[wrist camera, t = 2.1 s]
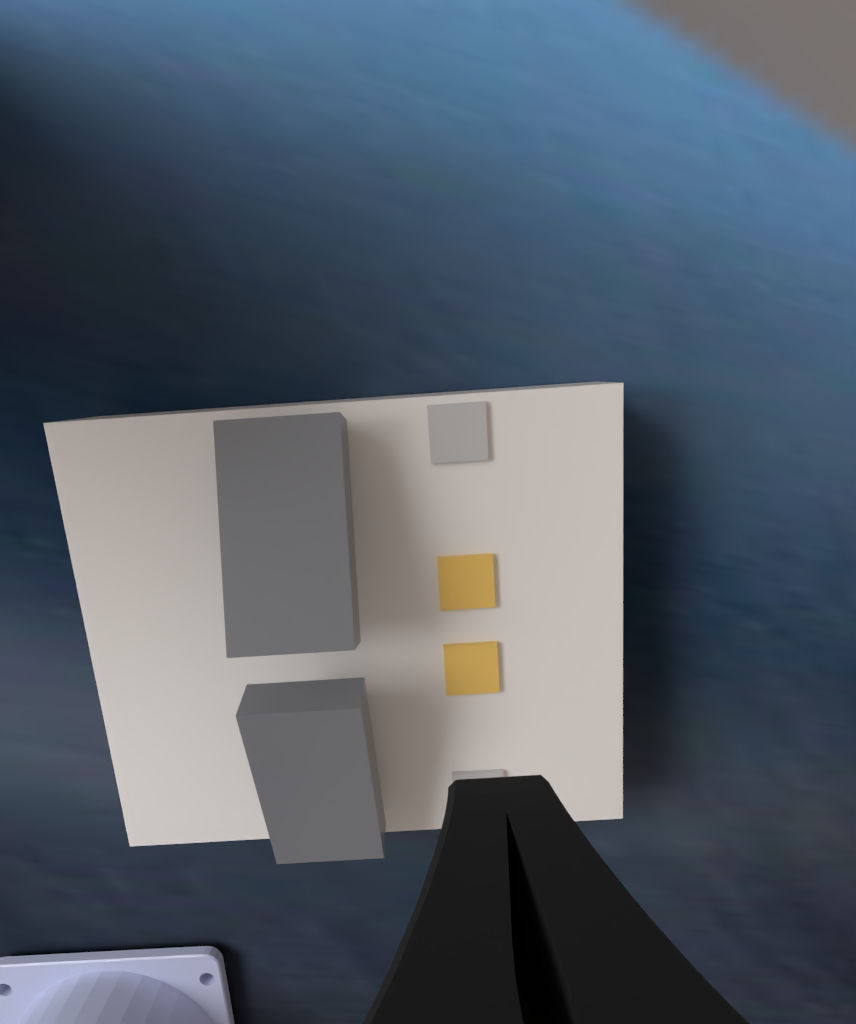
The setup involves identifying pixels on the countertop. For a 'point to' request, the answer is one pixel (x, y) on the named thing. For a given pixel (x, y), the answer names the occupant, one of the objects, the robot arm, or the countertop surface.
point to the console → (367, 601)
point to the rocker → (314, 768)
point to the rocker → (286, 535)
